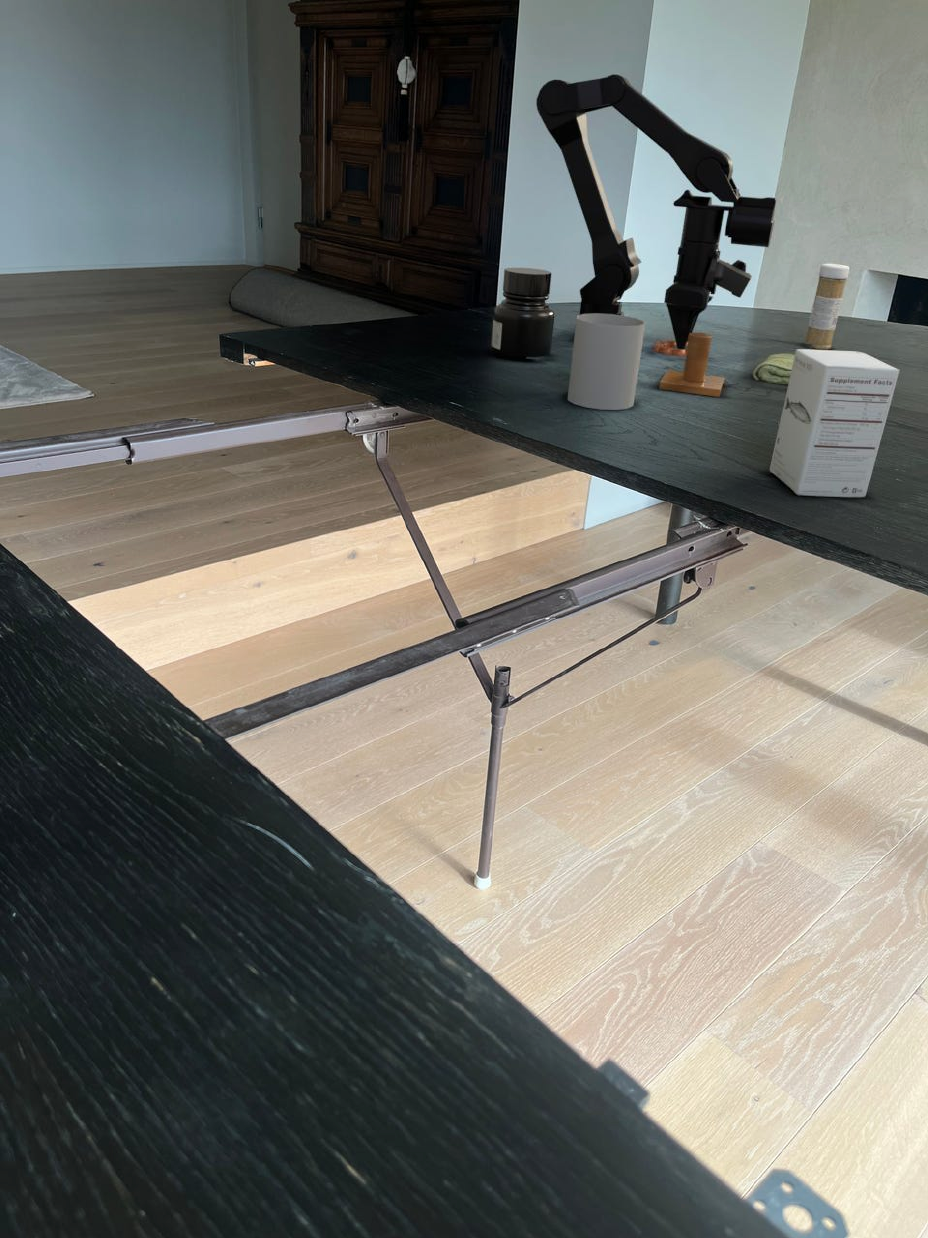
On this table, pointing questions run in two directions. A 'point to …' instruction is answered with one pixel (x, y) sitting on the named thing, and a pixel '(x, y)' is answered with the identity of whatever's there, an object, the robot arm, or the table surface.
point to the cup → (605, 361)
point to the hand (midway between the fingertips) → (683, 345)
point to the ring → (663, 348)
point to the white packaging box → (832, 422)
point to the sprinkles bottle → (826, 305)
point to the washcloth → (775, 369)
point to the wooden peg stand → (694, 370)
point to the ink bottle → (523, 315)
